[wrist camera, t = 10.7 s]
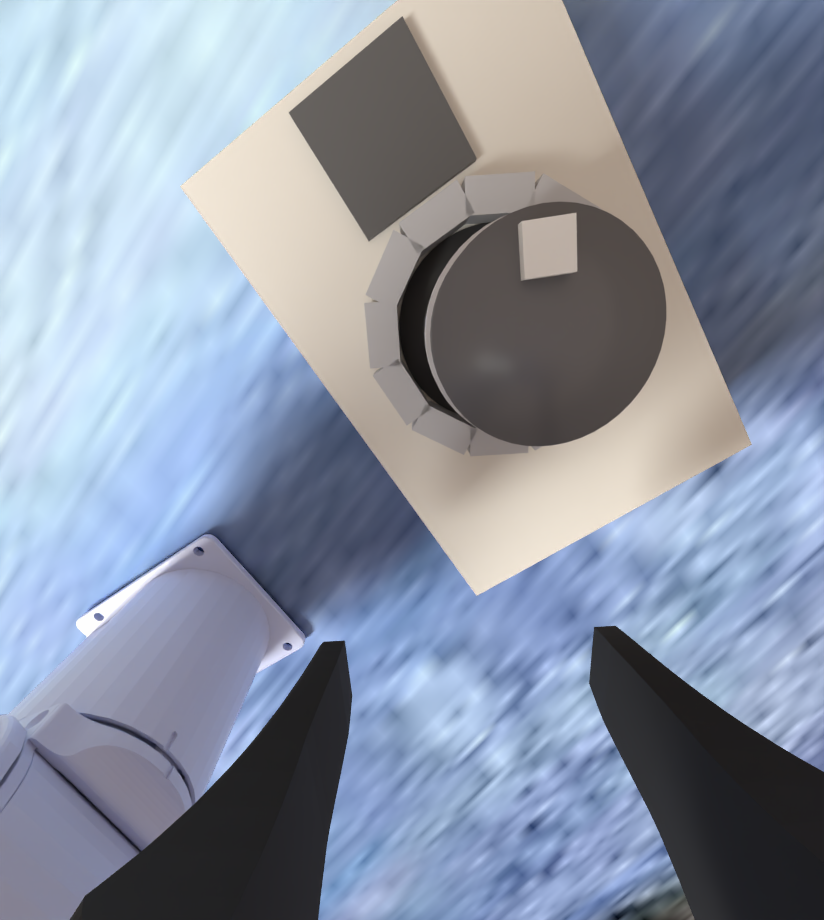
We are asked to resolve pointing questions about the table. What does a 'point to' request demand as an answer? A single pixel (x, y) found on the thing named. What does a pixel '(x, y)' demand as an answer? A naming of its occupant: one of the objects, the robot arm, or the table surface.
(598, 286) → the lens
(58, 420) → the table surface
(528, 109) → the camera body
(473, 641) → the table surface
